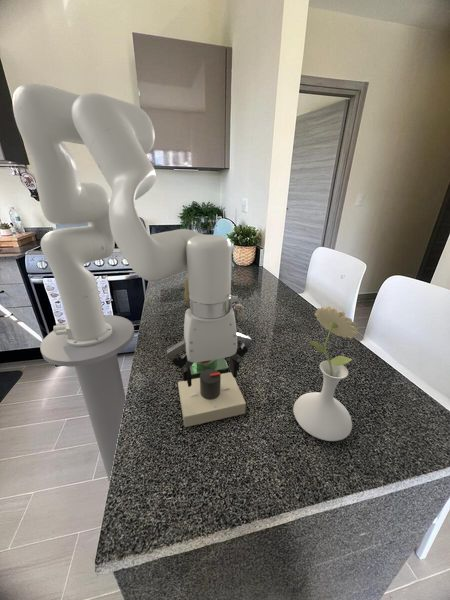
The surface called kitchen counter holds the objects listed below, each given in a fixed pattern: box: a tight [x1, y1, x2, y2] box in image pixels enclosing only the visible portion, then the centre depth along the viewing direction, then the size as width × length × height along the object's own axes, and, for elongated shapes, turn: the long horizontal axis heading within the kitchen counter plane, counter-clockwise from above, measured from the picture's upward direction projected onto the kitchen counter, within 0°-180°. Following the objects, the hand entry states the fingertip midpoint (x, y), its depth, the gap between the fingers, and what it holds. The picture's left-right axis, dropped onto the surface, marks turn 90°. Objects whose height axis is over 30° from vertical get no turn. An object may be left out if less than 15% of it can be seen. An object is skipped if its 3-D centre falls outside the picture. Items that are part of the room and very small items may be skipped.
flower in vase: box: [293, 305, 359, 442], centre depth 48 cm, size 13×11×25 cm
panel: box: [177, 371, 247, 428], centre depth 56 cm, size 13×10×3 cm
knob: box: [200, 369, 221, 400], centre depth 54 cm, size 4×4×5 cm
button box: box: [180, 354, 230, 379], centre depth 66 cm, size 11×8×4 cm
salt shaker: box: [232, 306, 243, 345], centre depth 76 cm, size 6×6×12 cm
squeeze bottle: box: [183, 275, 190, 308], centre depth 96 cm, size 8×8×18 cm
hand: (211, 377), depth 53 cm, fingers open, 9 cm apart
